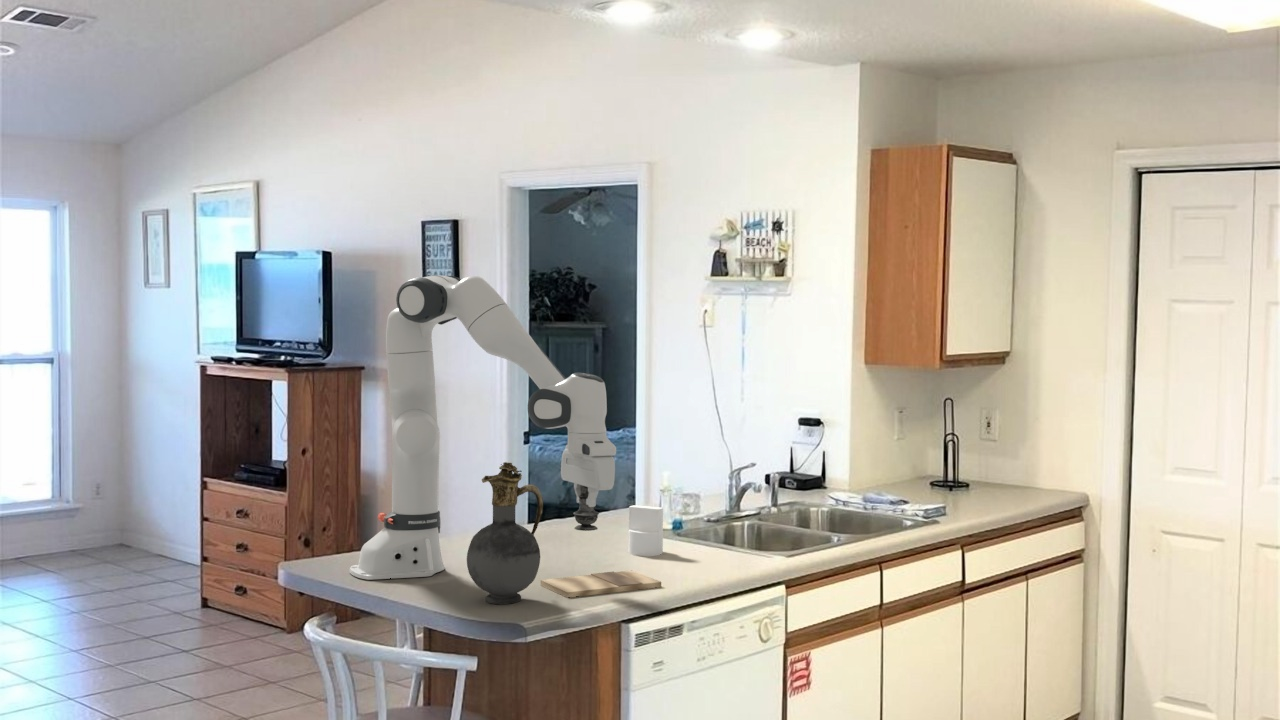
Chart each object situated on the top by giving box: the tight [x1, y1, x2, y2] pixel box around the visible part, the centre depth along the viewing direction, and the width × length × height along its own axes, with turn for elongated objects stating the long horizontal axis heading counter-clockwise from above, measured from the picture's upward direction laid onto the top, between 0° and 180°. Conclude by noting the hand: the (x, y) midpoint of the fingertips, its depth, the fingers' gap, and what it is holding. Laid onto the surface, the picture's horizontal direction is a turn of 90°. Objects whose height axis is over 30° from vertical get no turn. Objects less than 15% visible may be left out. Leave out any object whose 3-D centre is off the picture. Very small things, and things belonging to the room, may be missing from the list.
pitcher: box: [466, 461, 544, 605], centre depth 271 cm, size 11×19×30 cm, turn 138°
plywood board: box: [540, 570, 662, 599], centre depth 285 cm, size 24×14×1 cm, turn 120°
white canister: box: [627, 504, 664, 557], centre depth 325 cm, size 9×9×12 cm
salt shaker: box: [572, 485, 600, 532], centre depth 283 cm, size 6×6×12 cm
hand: (586, 505), depth 283 cm, fingers closed on salt shaker, 3 cm apart
